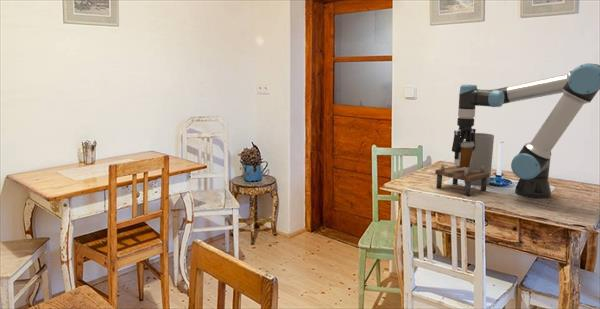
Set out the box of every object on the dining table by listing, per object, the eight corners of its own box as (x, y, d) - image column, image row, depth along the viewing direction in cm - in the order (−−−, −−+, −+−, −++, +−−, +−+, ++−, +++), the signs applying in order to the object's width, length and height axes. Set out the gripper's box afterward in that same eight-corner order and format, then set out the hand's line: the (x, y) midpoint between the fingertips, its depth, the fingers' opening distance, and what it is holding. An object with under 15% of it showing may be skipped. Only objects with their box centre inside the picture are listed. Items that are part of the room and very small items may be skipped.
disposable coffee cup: (475, 168, 223) (477, 143, 221) (455, 168, 224) (457, 143, 221) (469, 164, 233) (470, 140, 230) (449, 163, 233) (451, 139, 231)
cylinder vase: (462, 184, 241) (465, 135, 236) (466, 178, 251) (469, 132, 247) (488, 187, 235) (492, 137, 230) (491, 181, 246) (495, 134, 241)
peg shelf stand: (487, 191, 227) (490, 166, 225) (468, 196, 218) (470, 171, 216) (454, 183, 242) (455, 160, 240) (434, 187, 233) (435, 163, 231)
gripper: (472, 115, 233) (468, 160, 237) (445, 118, 220) (442, 165, 225) (485, 117, 227) (482, 163, 231) (459, 119, 215) (455, 168, 219)
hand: (462, 164), depth 228 cm, fingers closed on disposable coffee cup, 8 cm apart
